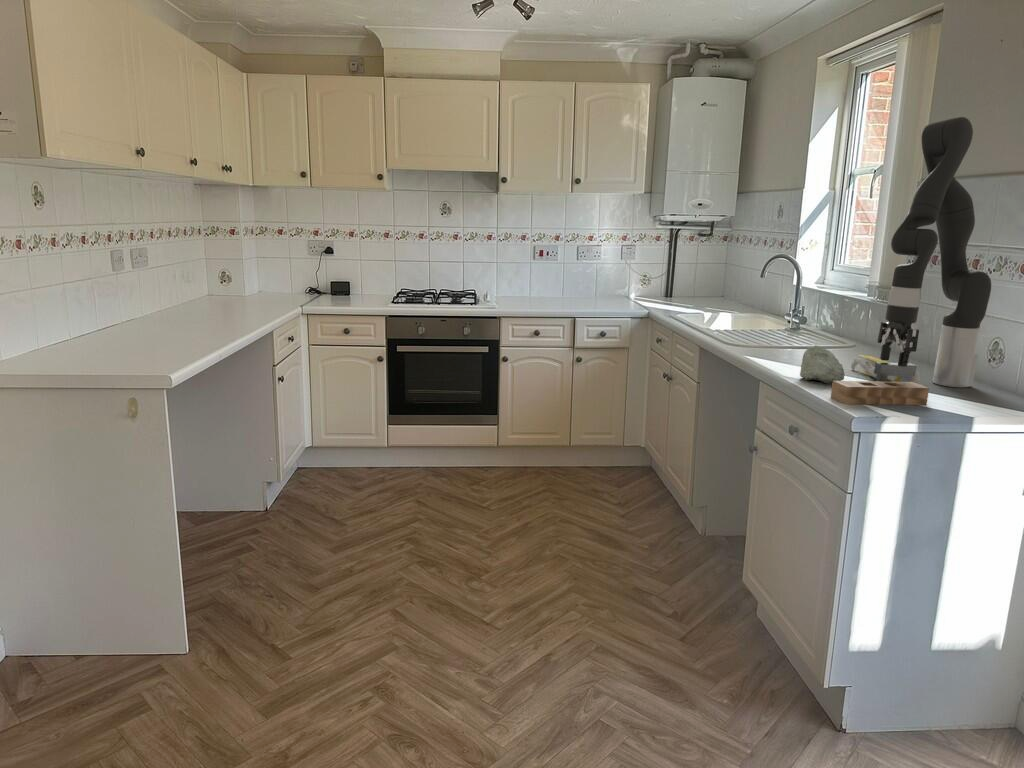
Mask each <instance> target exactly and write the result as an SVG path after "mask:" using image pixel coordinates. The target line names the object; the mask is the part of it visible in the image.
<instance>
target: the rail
mask: <svg viewBox="0 0 1024 768" xmlns="http://www.w3.org/2000/svg"><path fill="white" fill-rule="evenodd" d="M831 385H832V387H831V393H830V398H832V399H833V400H836V401H838V402H840V403H842V404H844V405H890V406H891V405H895V406H897V405H898V406H899V405H901V406H903V405H905V406H909V405H910V406H927V405H928V404H927V403H928V397H929V392H930V387H927V386H925V385H922V384H919V383H918V384H917V383H914V382H890V381H876V380H874V381H873V380H871V381H869V380H841V381H833V384H831Z"/></svg>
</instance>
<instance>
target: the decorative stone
mask: <svg viewBox="0 0 1024 768" xmlns="http://www.w3.org/2000/svg"><path fill="white" fill-rule="evenodd" d="M845 374H846V373H845V369H844V367H843V365H842V363H840V361H839V359H838V358H837V357H836V355H835V354H834V353H833V352H831V351H830V350H829V349H827V348H825V347H823V346H821V345H817V344H815V345H813V346H809V347H807V349H806V350H805V351H804V353H803V354H802V360H801V366H800V372H799V376H800V378H802V379H804V380H806V381H814V380H815V381H819V382H821V383H823V384H828V385H832V384H833V381H845Z"/></svg>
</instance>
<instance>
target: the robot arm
mask: <svg viewBox="0 0 1024 768" xmlns="http://www.w3.org/2000/svg"><path fill="white" fill-rule="evenodd" d="M973 129H974V128H973V125H972V123H971V121H970V119H969V118H967V117H965V116H959V117H954V118H953V117H952V118H948V119H944V120H940V121H935V122H932V123H928V124H926V125H925V126H924V127H923V129H922V131H921V134H920V137H921V138H920V141H921V142H920V144H921V145H920V146H921V151H922V155H923V159H924V163H925V166H926V171H927V176H926V178H925V179H924V180H923V181H922V182H921V183H920V185H919V186H918V187H917V189H916V191H915V193H914V196H913V198H912V202H911V204H910V207H909V210H908V213H907V215H906V216H905V218H904V219H903V220H902V222H901V224H900V225H899V226H898V227H897V229H896V230H895V232H894V233H893V236H892V238H891V241H890V242H891V243H890V246H891V250H892V251H893V253H894V254H896V255H899V256H900V255H901V256H916V257H917V258H916V259H915V261H913V262H910V263H904V264H898V265H896V266H895V268H894V271H893V276H892V277H893V278H892V282H891V287H890V288H891V289H890V291H889V294H888V301H887V306H886V312H885V321H884V322H880V327H879V332H878V337H877V344H880V346H881V350H880V352H881V353H880V356H879V358H880V360H883V361H886V362H889V360H890V356H891V351H892V347H891V346H892V345H893V344H894V343H896V345H898V348H899V350H900V352H899V357H898V362H897V363H898V366H902V367H906V366H907V364H908V363H909V359H910V354H912V353H914V352H917V348H918V342H919V333H920V330H919V329H918V328H912V324H915V323H917V320H918V314H919V310H920V305H921V304H920V303H921V298H922V296H921V295H922V288H923V287H922V286H923V281H924V275H925V271H926V269H927V266H928V264H929V262H930V260H931V257H932V256H933V254H934V252H935V250H936V248H937V246H939V251H940V261H941V262H940V265H941V266H940V267H941V269H940V270H941V289H942V292H943V294H944V297H946V298H947V299H948V300H950V301H953V302H957V305H956V307H955V310H953V312H950V313H948V314H945V315H944V316H943V319H942V322H941V323H942V325H941V330H940V335H939V336H940V337H939V342H938V348H937V352H936V353H937V354H936V359H935V365H934V371H933V377H932V382H933V383H934V384H936V385H939V386H945V387H951V388H968V387H973V384H974V380H975V379H974V378H975V374H976V369H977V368H976V367H977V363H978V355H979V354H978V353H976V351H977V350H976V348H977V343H978V338H979V332H980V327H981V323H982V321H983V320H984V318H985V316H986V313H987V309H988V305H989V301H990V296H991V291H992V280H991V278H990V275H989V274H987V273H986V272H984V271H980V270H972V269H969V267H968V263H967V262H968V261H967V253H966V252H967V246H968V243H969V241H970V238H971V236H972V234H973V231H974V228H975V223H976V219H975V218H976V217H975V208H974V202H973V199H972V197H971V195H970V193H969V192H968V191H967V189H966V188H965V187H964V186H963V185H962V184H961V183H960V182H959V181H958V180H957V179H956V178H955V175H956V173H957V171H958V170H959V168H960V166H961V164H962V162H963V160H964V159H965V156H966V154H967V152H968V150H969V148H970V146H971V143H972V142H973V141H972V140H973V135H974V130H973ZM933 224H935V225H936V229H937V232H936V231H935V230H934V229H931V228H921V227H925V226H926V227H927V226H930V225H933ZM938 244H939V245H938ZM886 321H888V322H886ZM911 344H912V345H911Z"/></svg>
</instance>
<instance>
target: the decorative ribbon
mask: <svg viewBox="0 0 1024 768" xmlns="http://www.w3.org/2000/svg"><path fill="white" fill-rule="evenodd" d="M859 356H860V357H863V358H865V361H864V360H861V359H860V358H858V357H855V358H854V359H853V362H852V364H851V365H850V368H851V370H853V371H854V370H855V369H856V368H857V366H858V364H859V365H860V367H861V368H862V369H864V370H865V371H866V372H865V371H863V370H859V372H861V373H863V374H865V375H868V376H870V377H872V378H873V379H875V380H876V375H877V374H875V373H874V369H875V363H890V362H889V361H886V360H881V359H879V358H877V357H874V356H870V355H863V354H859ZM872 366H873V367H872ZM887 381H888V382H900V376H888V378H887ZM920 381H921V375H920V373H919V372H918V371H917V370H916V374H915V376H912V380H911V382H914V383H917V384H919V383H920Z"/></svg>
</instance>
